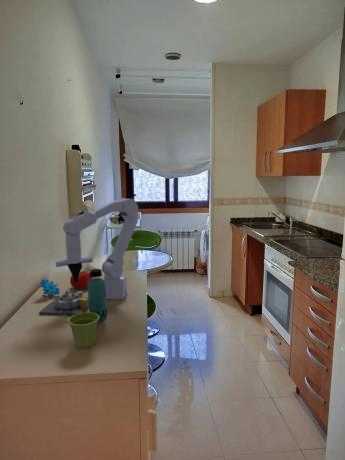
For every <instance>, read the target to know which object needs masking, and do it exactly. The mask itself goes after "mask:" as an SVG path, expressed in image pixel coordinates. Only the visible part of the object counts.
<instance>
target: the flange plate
mask: <svg viewBox="0 0 345 460" xmlns="http://www.w3.org/2000/svg"><path fill="white" fill-rule="evenodd" d="M83 298H88V296H87V297H84V296H83ZM87 310H89V306H88V307H79V306H78V307H75V308H70V309H59V308H56V307H55V304H54V300H53V301H51V302H50V303H49V304H47V305H46V306H45V307H43V308H42V309H41V310H40V311H39V312H38V315H41V316H42V315H45V316H49V315H50V316H70V317H71V316H73V315H76V314H79V313H86V312H87Z"/></svg>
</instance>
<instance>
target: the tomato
mask: <svg viewBox="0 0 345 460" xmlns="http://www.w3.org/2000/svg"><path fill="white" fill-rule="evenodd" d="M92 278H94V277H90V271H86V270H81V271H80V273H79V277H78V282H74V280H73V276H72V275H71V276H70V280H69V282H70V285H71V287H73V288H74V289H78V290H85V289H88V285H87V283H88V281H89V280H90V279H92Z"/></svg>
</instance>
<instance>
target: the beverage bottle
mask: <svg viewBox="0 0 345 460" xmlns="http://www.w3.org/2000/svg"><path fill="white" fill-rule="evenodd" d="M89 272H90V277H93V278H92V279H90V280H89V281H88V283H87V285H88V287H87V297H88V300H89V308H88V312H91V313H96V314H98V315H99V320H98V323H97V324H102V323H104V322H106V321H107V319H108V309H107V307H108V306H107V299H106V291H105V289H106V288H105V281H104V278H101V277H102V276H103V274H102V269H100V268H94V269H90V270H89Z"/></svg>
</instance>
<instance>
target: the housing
mask: <svg viewBox="0 0 345 460" xmlns="http://www.w3.org/2000/svg"><path fill="white" fill-rule="evenodd" d="M74 293H75V292H70V293H66V294H65V293H62V294H61V295H62V296H61V297H62V301H67V297H69V296H72V300H75V299H76V294H74Z"/></svg>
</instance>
